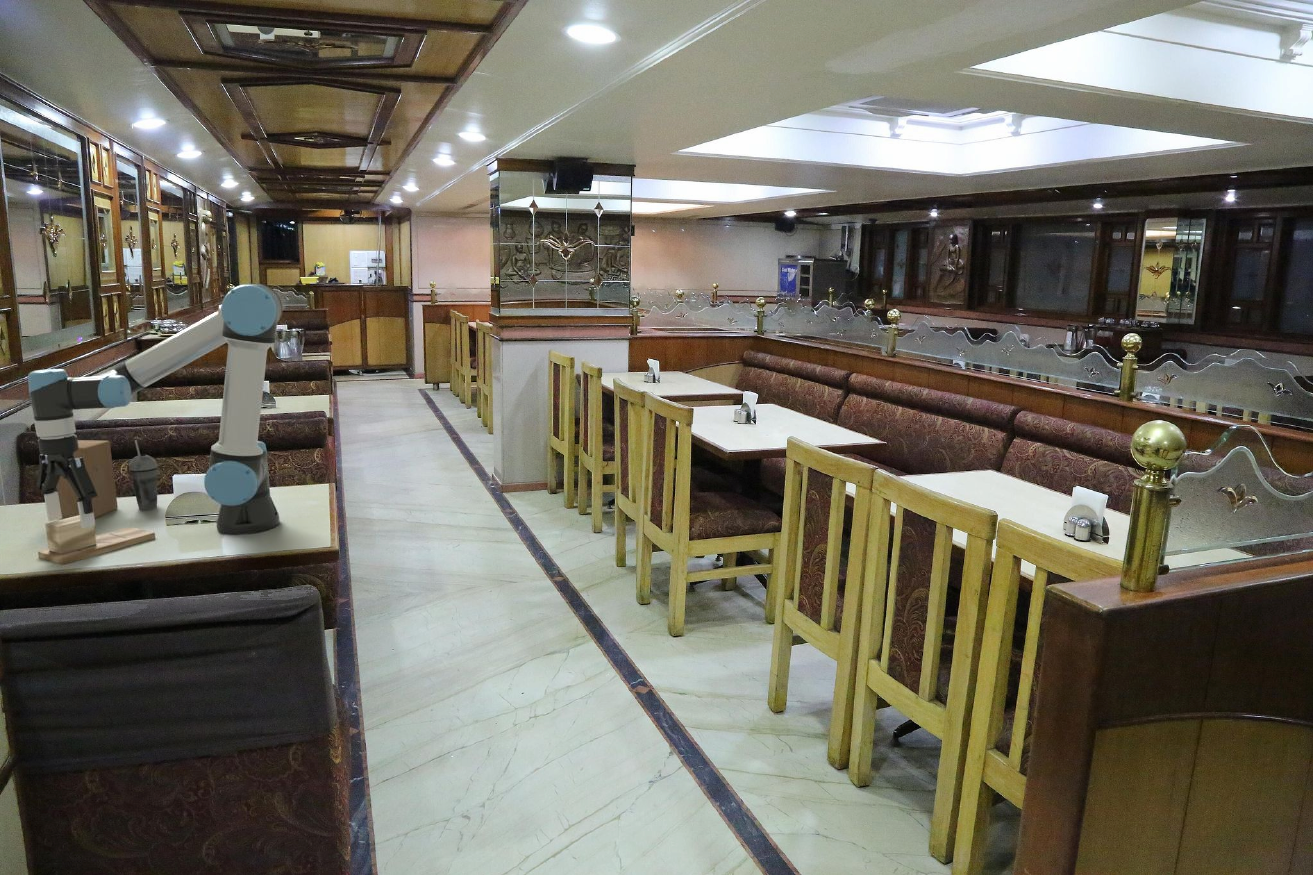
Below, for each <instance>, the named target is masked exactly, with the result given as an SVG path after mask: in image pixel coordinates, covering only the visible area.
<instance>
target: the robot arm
mask: <svg viewBox="0 0 1313 875" xmlns="http://www.w3.org/2000/svg"><path fill="white" fill-rule="evenodd" d="M283 310H284V308H283V301H282V299H281V297H280V296H279V294H278V293H277V292H276V291H275V289H272V288H271V287H270V286H268V285H267V284H266V285H265V284H262V283H244V284H240V285H236V286H235V287H232V289H230V290H229V291H228V292H227V293H226V295H225V296H224V298H223V299H222V301H221V304H219V306H218V310H217V311H216V312H214V313H212V314H210V315H208V316H206V317H205V318H203V319H201V320H199V321H198V322H195V323H194V324H191V325H189V326H188V327H186V328H185V329H183V330H181V331H178V332H177V333H176V334H173V335H172V336H170V337H168V338H166V339H164V340H162V341H161V342H159V343H156V344H155V345H153V346H152V347H150V348H148V349H146V350H144V351H143V352H140V353H139V354H137V355H136V356H133V357H132V358H129V359H127V360H126V361H124V362H123V363H121V364H119V365H117V366H115V367H113V368H112V369H110V370H108V371H105V372H103V373H100V374H97V375H94V376H80V377H75V376H74V377H71V376H69V375H68V373H67V371H66V370H65V369H63V368H51V369H49V368H48V369H39V370H33V371H31V372H30V373H28V375H27V381H28V394H29V398H30V402H31V408H32V413H33V421H34V428H35V434H36V436H37V437H38V439H37V444H38V449H39V453H40V454H39V455H38V460H39V461H38V462H39V466H38V472H37V482H36V490H37V492H39V491H41V492H40V493H42V495H43V497H44V502H45V509H46V514H47V515H46V516H47V520H48V522H54V521H58V520H62V519H63V518H62V514H61V508H60V502H59V496H58V492H56V491H58V489H57V488H56V487H57V484H58V481H59V479H60V476H63V478H65V479H67V480H68V482H69V484H70V485H71V487H72V488H73V490H74V492H75V493H76V495H77V496H78V500H77V503H78V509H79V515H80V521H81V527H82V528H87V527H90V526H94V527H95V526H96V520H95V519H96V518H94V513H93V507H92V499H93V498H94V497H97V493H96V490H95V488H94V486H93V484H92V481H91V479H90V477H89V474H88V472H87V470H86V468H85V464H84V460H83V458H82V457H80V458H74V455H73V453H74V452H75V451H77V450H78V449H79V446H78V440H79V439H78V437H77V435H76V434H75V433H76V431H77V430H76V419H75V418H74V416H75V415H74V410H77V411H78V410H89V409H91V410H92V409H114V408H121V407H127V406H128V405H130V402H131V399H132V396H133V395H134V394H136V393H137V392H139V391H141V390H143V389H144V388H147V387H148V386H150V385H152V384H154V383H155V382H157V381H159V380H160V379H162V378H165V377H166V376H168V375H170V374H172V373H173V372H175V371H177V370H179V369H181V368H183V367H184V366H186V365H188V364H190V363H192V362H193V361H196V360H198V359H199V358H200V357H203V356H205V355H206V354H208V353H210V352H212V351H214V350H215V349H217V348H220V347H221V346H223V345H224V344H227V345H228V347H227V355H226V366H225V376H224V386H223V394H222V395H223V397H222V406H221V415H220V425H219V434H218V441H216V443H214V444H212V445H211V448H210V452H209V453H210V455H209V464H208V469H207V471H206V472H205V475H204V481H203V482H204V489H205V491H206V494H207V495H208V496H209V497H210V498H211V499H212V500H213V501H215V502H216V503H218V504H220V506H219V510H218V517H217V519H216V530H217V532H219V533H222V534H227V535H246V534H255V533H259V532H265V531H267V530H270V529H273V528H275V527H277V526H278V525H279V524H280V522H281V521H280V514H279V512H278V509H277V507H276V505H275V503H274V501H273V498H272V497H271V491H270V489H271V488H270V479H269V478H270V477H269V476H270V475H269V466H268V451H267V447H266V446H267V445H266V443H265V442H263V441H260V440H258V439H259V431H260V420H261V414H262V413H261V412H262V404H263V403H262V402H263V394H264V383H265V374H266V364H267V356H268V350H269V348H272V346H274V345H275V343H276V335H277V326H278V322H279V321H280V319H281V317H282V314H283Z"/></svg>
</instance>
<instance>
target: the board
mask: <svg viewBox="0 0 1313 875" xmlns="http://www.w3.org/2000/svg"><path fill="white" fill-rule="evenodd" d="M95 537H96V544H97V545H96V546H93V547H89V548H86V549H82V550H79V551H75V552H71V553H68V554H64V555H59V554H55V553H51V552H49V548H46V549H41V550H39V551H37V556H38V558H39V559H41V560H47V561H48V562H49V561H50V562H53V563H57V564H60V565H66V564H70V563H73V562H77V561H81V560H84V559H87V558H91V557H94V556H97V555H101V554H104V553H108V552H112V551H115V550H118V549H122V548H126V547H129V546H132V545H136V544H140V543H143V542H147V541H149V540H153V539H156V532H154V531H150V530H146V529H140V528H136V527H132V526H129V527H125V528H122V529H117V530H114V531H110V532H105V533H102V534H99V535H95Z"/></svg>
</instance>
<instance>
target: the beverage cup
mask: <svg viewBox="0 0 1313 875" xmlns="http://www.w3.org/2000/svg"><path fill="white" fill-rule="evenodd" d="M134 443H135V448H136V451H137V456H134V457H133V458H132V459H131V460H130V463H129V466H128V472H129V476H130V478H131V480H132V486H133V489H134V490H133V491H134V494H135V498H136V504H137V507H138V510H140V511H150V510H154V509H157V508H158V473H159V472H158V470H159V466H158V463H157V461H156V460H155V459H154V457H152V456H150V455H148V454H141V452H140V448H139V445H138V440H134Z"/></svg>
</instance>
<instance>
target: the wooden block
mask: <svg viewBox="0 0 1313 875" xmlns="http://www.w3.org/2000/svg"><path fill="white" fill-rule="evenodd" d="M77 440H78V446H79V449H78V450H77V451H75V452H74V453H73V455H74V458H80V457H82V458H83V460H84V464H85V468H86V470H87V472H88V474H89V477H90V479H91V481H92V484H93V486H94V488H95V490H96V493H97V497H94V498H93V499H92V507H93V513H94V519H97V518H99V517H101V516H103V515H104V516H105V515H106V514H108V513H110V512H114V511H116V510H118V506H119V505H118V501H117V500H118V499H117V491H116V485H115V484H116V482H115V476H114V468H113V458H112V451H111V442H110V441H109V440H93V439H92V440H91V439H90V440H86V439H84V440H83V439H82V440H81V439H80V440H79V439H77ZM56 488H57V489H58V491H55V492H58V496H59V502H60V508H61V514H62V518H61V519H66V518H70V517H74V516H78V515H79V509H78V503H77V500H78V496H77V495H76V493H75V492H74V490H73V488H72V487H71V485H70V484H69V482H68V480H67V479H65V478H63V476H60V479H59V481H58V484H57V487H56Z"/></svg>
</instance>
